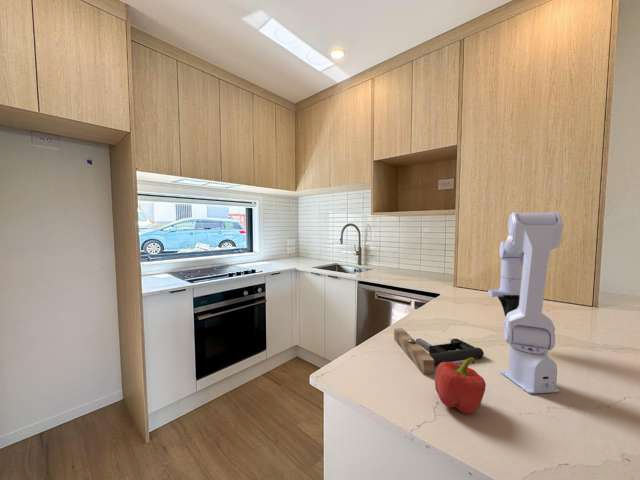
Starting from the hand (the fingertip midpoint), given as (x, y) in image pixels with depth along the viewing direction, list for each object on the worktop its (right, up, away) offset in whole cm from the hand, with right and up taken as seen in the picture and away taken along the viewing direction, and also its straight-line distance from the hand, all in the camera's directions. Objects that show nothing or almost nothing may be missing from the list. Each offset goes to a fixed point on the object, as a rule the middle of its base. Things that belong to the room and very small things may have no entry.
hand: (508, 317), depth 90 cm
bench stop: (-36, -10, -7) cm, 37 cm away
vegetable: (-33, -12, -29) cm, 45 cm away
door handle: (-25, -10, -5) cm, 28 cm away
